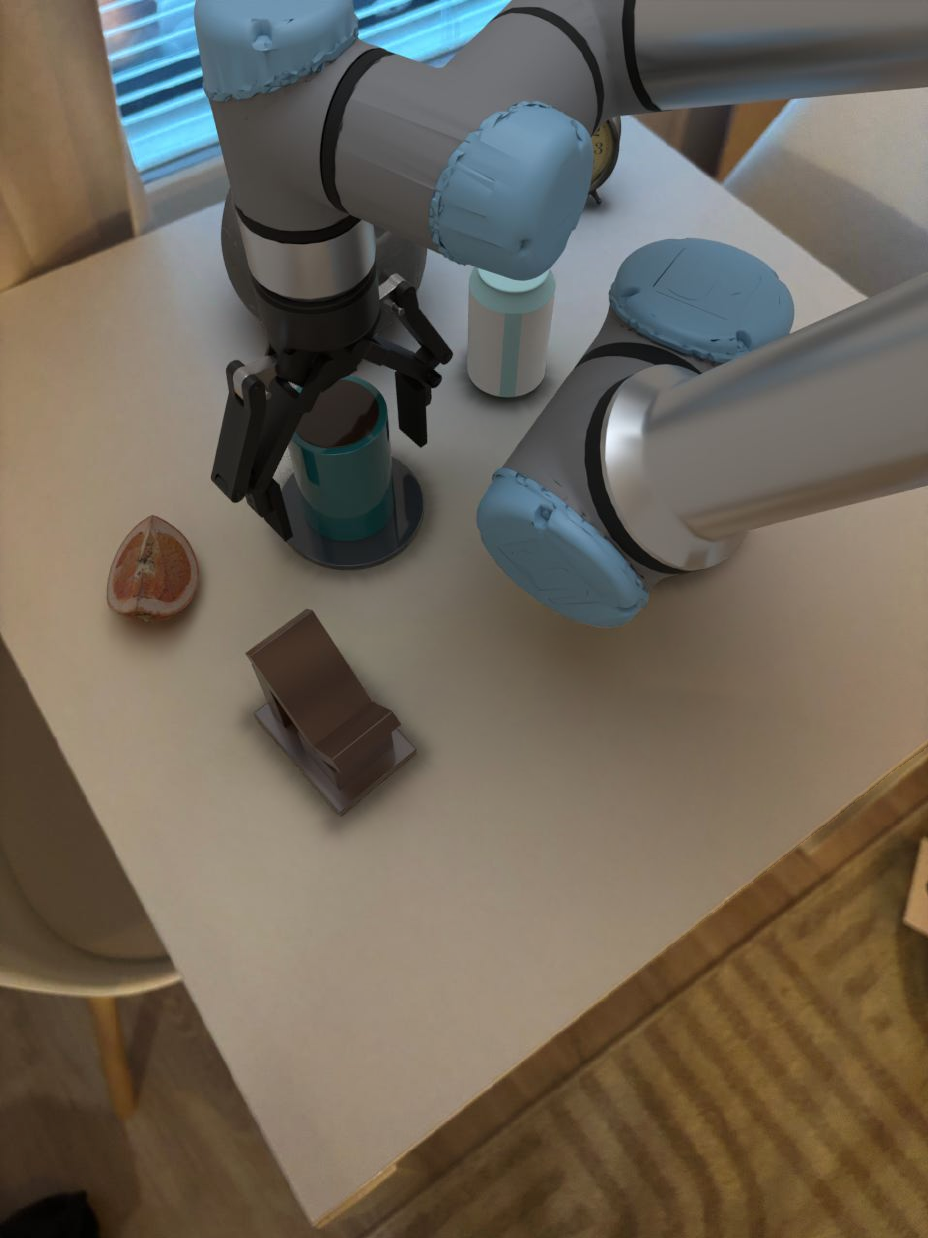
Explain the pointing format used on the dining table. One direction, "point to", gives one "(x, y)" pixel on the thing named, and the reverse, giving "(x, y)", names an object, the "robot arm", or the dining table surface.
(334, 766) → the cradle
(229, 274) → the bowl
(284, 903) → the dining table surface
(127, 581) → the fruit slice
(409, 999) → the dining table surface
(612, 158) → the alarm clock
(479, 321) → the can
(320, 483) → the cup
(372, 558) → the coaster
